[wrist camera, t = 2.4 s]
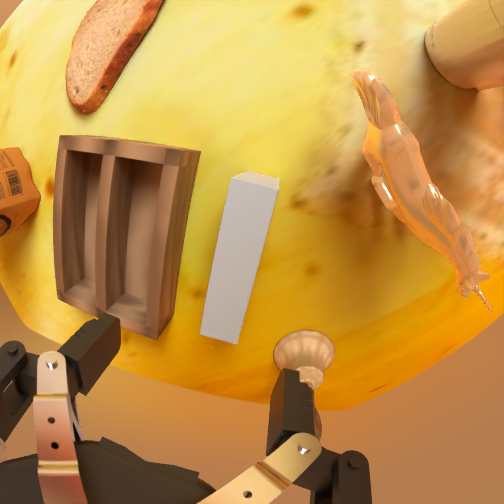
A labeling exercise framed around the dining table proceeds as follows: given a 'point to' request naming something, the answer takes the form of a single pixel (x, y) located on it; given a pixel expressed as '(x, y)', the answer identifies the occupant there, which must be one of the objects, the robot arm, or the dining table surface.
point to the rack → (121, 227)
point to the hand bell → (306, 360)
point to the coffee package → (15, 190)
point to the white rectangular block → (238, 253)
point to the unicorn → (413, 184)
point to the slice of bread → (105, 48)
